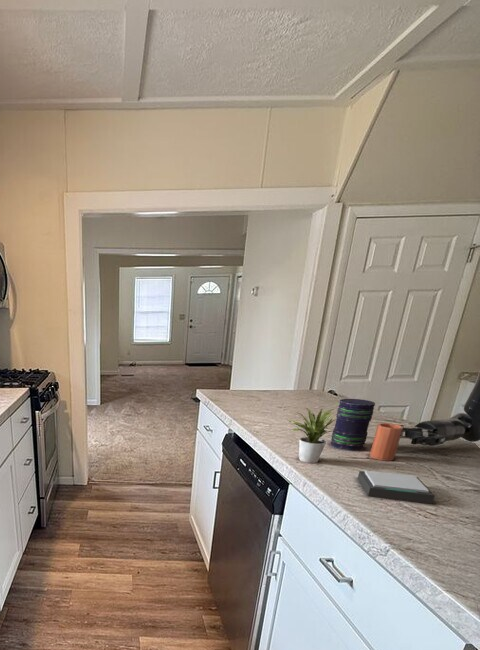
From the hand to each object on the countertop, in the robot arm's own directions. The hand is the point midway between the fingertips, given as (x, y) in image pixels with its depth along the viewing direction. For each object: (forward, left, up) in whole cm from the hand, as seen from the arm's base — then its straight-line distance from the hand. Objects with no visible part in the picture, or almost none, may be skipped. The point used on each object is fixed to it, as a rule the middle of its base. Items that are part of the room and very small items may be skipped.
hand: (398, 437), depth 123 cm
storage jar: (+12, -6, -6) cm, 15 cm away
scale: (+8, +31, -6) cm, 33 cm away
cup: (+4, +3, -6) cm, 8 cm away
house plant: (+25, +12, -6) cm, 28 cm away
